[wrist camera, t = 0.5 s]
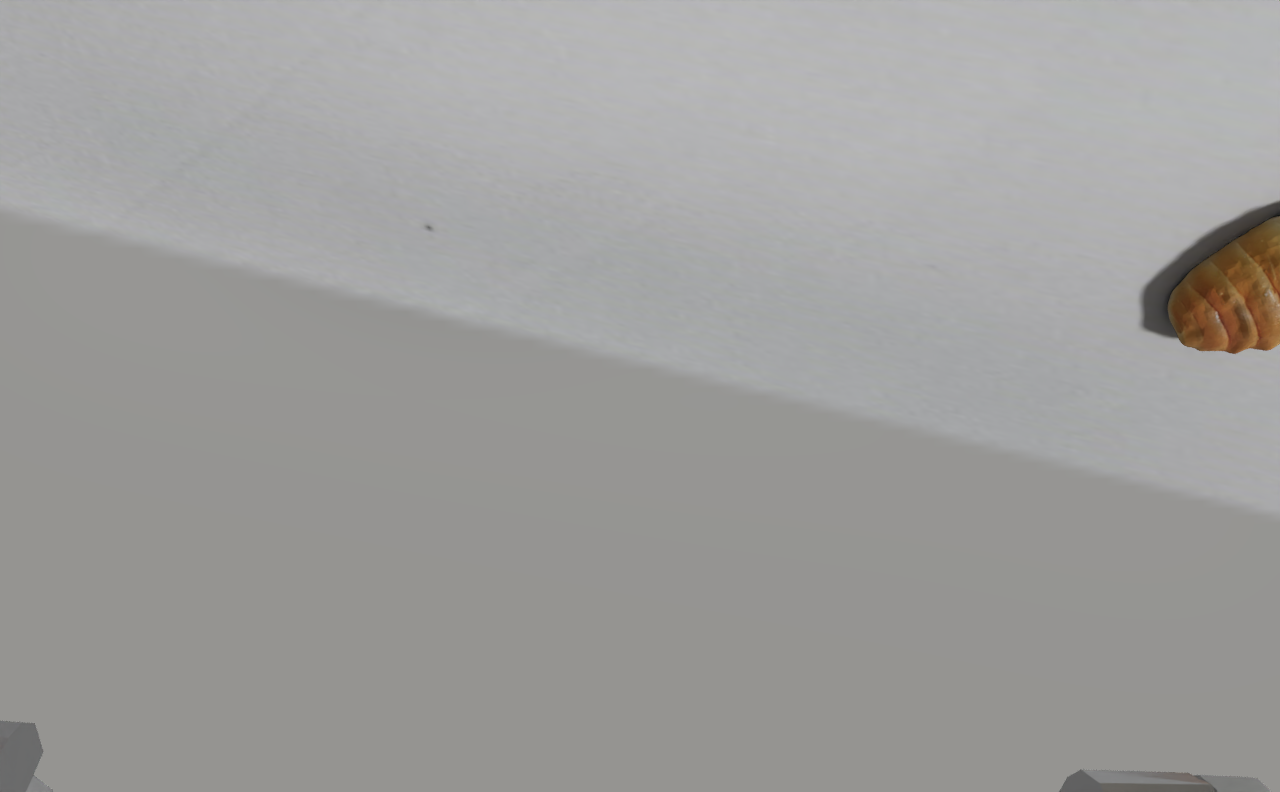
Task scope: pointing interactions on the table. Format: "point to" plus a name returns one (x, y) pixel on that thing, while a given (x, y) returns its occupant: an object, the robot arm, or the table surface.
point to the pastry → (1232, 295)
